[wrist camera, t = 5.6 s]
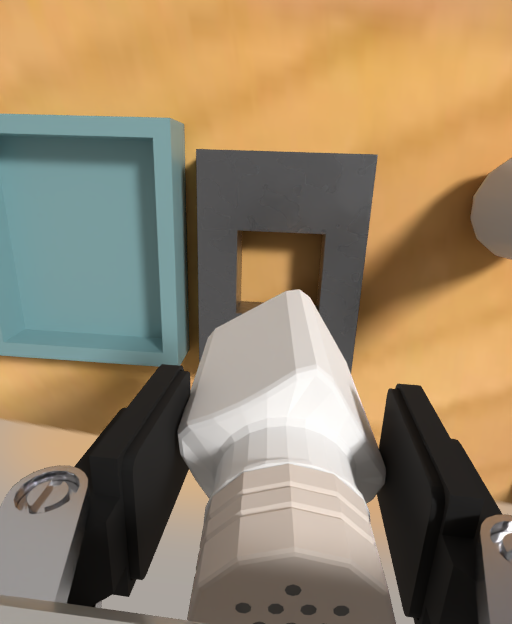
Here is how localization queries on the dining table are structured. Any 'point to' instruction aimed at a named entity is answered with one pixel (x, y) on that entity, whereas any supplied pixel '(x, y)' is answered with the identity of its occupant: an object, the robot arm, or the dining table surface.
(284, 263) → the dining table surface
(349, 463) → the pepper shaker
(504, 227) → the salt shaker
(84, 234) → the tray
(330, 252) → the socket block
